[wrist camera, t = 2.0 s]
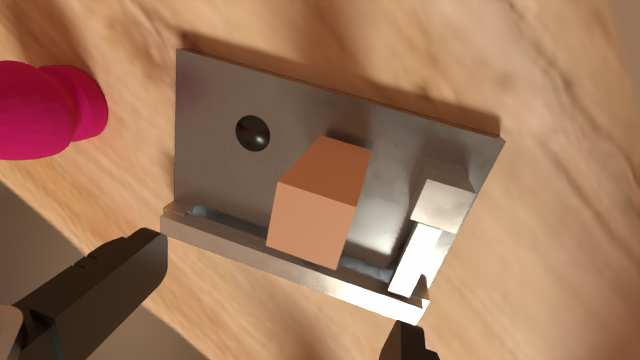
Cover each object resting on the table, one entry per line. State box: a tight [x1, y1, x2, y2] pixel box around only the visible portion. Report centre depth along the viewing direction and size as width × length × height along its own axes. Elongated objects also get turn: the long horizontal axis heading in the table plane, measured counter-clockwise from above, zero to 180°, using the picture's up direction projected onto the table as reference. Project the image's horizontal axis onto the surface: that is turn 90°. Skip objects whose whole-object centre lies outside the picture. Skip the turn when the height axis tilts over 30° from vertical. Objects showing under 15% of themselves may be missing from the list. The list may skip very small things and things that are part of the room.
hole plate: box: [160, 48, 506, 325], centre depth 23 cm, size 23×16×4 cm
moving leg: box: [266, 135, 372, 270], centre depth 19 cm, size 4×10×9 cm, turn 167°
